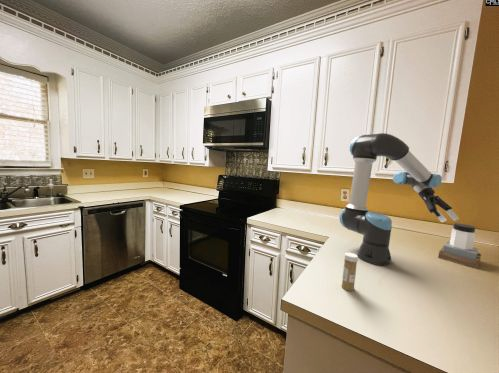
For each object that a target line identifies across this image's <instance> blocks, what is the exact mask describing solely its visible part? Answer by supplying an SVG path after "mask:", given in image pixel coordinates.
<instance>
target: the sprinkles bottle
mask: <svg viewBox="0 0 499 373" xmlns="http://www.w3.org/2000/svg"><path fill="white" fill-rule="evenodd" d="M343 258H344V263H343V268H342V269H343V271H342V282H341V287H342V288H343V289H344V290H345V291H349V292H350V291H351V292H352V291H354V290H355V282H356V275H357V264H358V263H357V262H358V259H359V257H358V256H357V254H356V253H352V252H345V253H344V256H343Z"/></svg>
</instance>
